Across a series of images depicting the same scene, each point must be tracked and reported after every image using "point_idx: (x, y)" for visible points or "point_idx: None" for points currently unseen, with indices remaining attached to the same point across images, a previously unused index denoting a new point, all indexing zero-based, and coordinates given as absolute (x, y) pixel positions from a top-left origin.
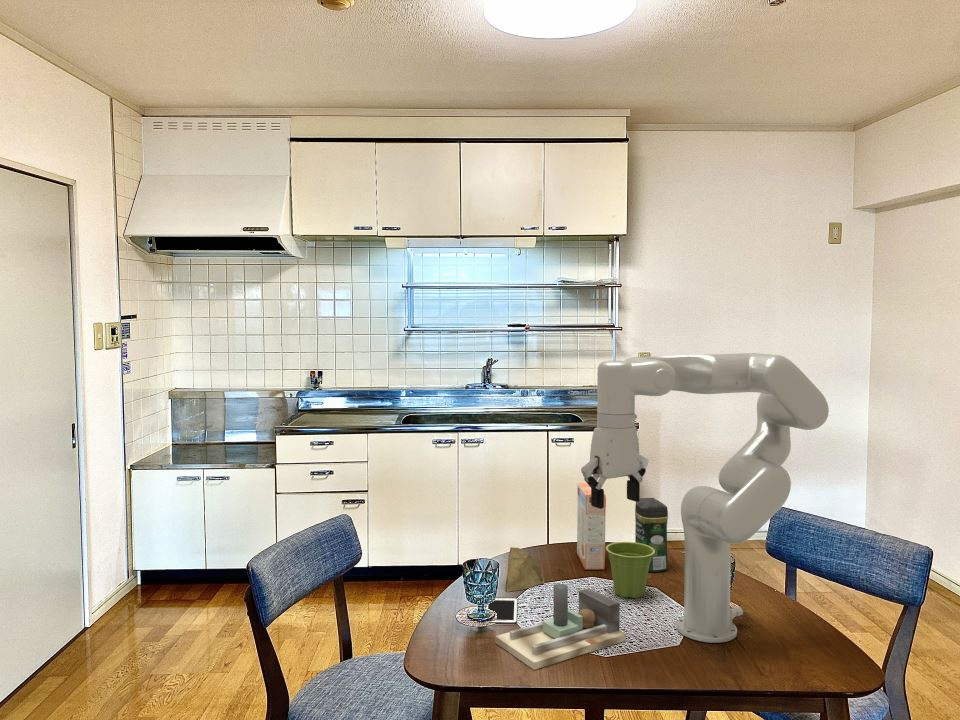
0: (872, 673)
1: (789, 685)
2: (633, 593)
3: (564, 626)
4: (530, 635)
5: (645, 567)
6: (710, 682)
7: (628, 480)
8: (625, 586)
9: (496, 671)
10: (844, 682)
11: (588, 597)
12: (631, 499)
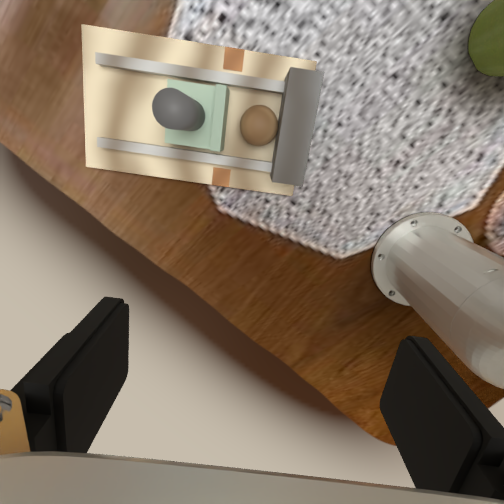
0: None
1: (336, 400)
2: (482, 68)
3: (186, 132)
4: (144, 76)
5: None
6: (271, 344)
7: (493, 446)
8: (482, 49)
9: (34, 125)
10: (388, 430)
11: (283, 108)
12: (392, 373)
